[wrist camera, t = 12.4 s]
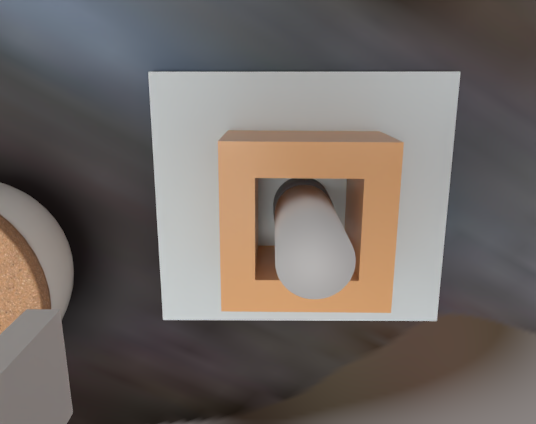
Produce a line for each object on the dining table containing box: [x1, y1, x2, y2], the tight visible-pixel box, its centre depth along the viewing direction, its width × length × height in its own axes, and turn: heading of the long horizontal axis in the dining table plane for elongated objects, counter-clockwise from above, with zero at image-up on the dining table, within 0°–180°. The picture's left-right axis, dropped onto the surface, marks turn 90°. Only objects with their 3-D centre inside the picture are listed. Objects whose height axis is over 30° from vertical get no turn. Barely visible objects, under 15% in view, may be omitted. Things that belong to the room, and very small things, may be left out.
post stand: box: [148, 72, 460, 321], centre depth 23 cm, size 14×16×10 cm
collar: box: [218, 130, 404, 313], centre depth 25 cm, size 8×8×5 cm
